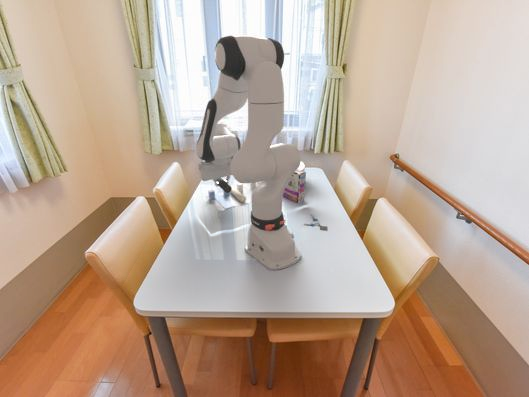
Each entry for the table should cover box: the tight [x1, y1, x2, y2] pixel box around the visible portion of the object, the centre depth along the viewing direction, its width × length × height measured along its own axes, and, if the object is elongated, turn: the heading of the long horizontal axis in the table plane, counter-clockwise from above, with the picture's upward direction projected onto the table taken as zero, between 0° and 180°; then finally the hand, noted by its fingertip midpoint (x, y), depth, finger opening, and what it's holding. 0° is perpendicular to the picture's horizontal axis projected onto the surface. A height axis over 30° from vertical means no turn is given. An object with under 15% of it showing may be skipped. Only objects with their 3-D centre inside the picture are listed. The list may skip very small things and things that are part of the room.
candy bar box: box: [283, 169, 307, 204], centre depth 133 cm, size 11×5×16 cm, turn 42°
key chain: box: [303, 214, 329, 232], centre depth 117 cm, size 14×8×1 cm, turn 27°
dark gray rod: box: [215, 177, 232, 193], centre depth 129 cm, size 16×4×4 cm, turn 32°
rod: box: [230, 185, 246, 202], centre depth 137 cm, size 14×3×3 cm, turn 32°
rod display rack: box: [205, 182, 257, 212], centre depth 137 cm, size 18×28×6 cm, turn 122°
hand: (221, 184), depth 129 cm, fingers closed on dark gray rod, 4 cm apart
